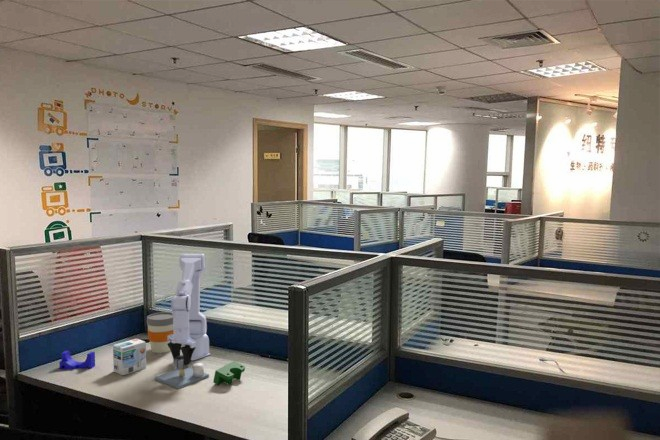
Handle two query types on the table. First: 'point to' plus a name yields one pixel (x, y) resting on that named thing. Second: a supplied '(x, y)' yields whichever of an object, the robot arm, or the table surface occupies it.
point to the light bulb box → (129, 356)
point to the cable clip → (72, 364)
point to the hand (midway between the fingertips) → (181, 362)
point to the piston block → (183, 376)
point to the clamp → (228, 373)
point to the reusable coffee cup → (160, 331)
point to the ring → (179, 363)
